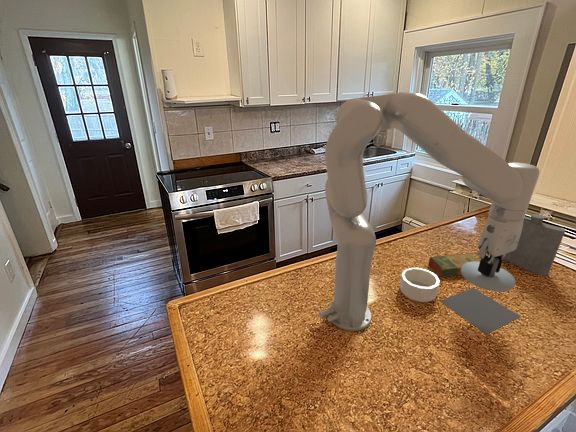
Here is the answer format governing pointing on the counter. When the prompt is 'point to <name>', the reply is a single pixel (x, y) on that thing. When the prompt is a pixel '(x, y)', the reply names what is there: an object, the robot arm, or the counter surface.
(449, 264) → the carton
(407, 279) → the bowl
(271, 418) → the counter surface
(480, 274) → the lid
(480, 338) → the counter surface
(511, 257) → the hip flask
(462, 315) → the mat
